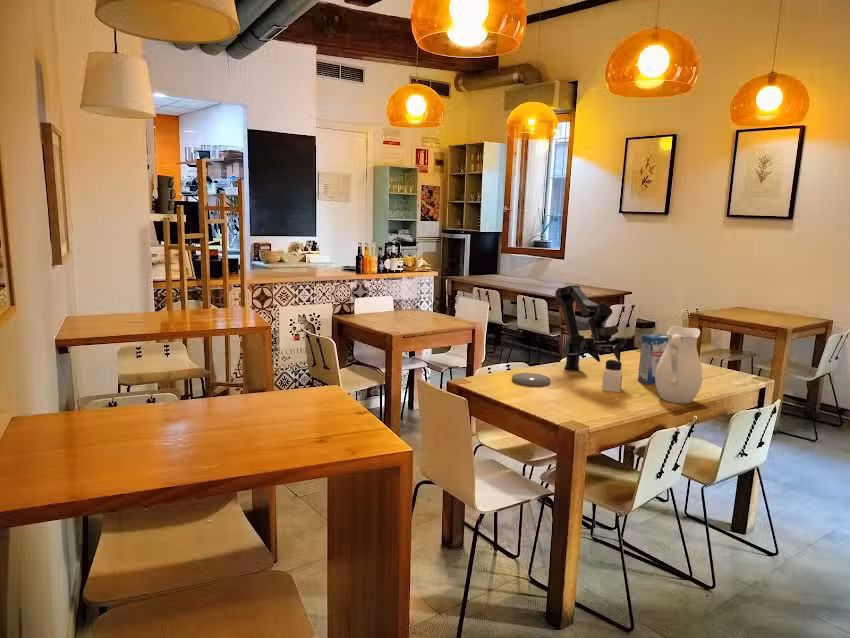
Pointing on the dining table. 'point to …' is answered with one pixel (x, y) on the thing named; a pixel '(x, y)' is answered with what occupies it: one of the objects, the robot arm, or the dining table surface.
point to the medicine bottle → (612, 376)
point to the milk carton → (651, 356)
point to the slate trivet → (531, 379)
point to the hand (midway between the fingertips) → (609, 361)
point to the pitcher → (679, 366)
